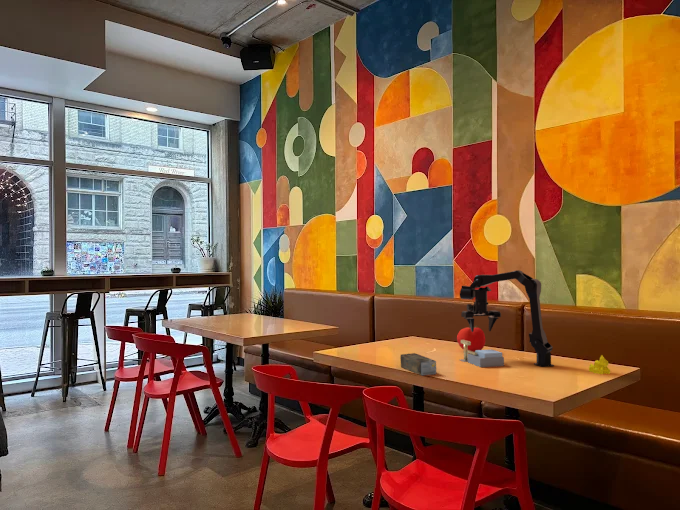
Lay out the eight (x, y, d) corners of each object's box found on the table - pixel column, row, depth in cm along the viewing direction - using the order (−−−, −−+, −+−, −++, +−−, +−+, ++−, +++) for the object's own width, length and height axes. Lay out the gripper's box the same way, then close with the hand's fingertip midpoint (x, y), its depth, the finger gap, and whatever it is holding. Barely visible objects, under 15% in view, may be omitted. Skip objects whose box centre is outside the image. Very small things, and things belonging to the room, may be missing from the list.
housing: (504, 365, 238) (503, 357, 238) (477, 367, 234) (477, 358, 234) (484, 358, 255) (483, 350, 255) (459, 359, 252) (459, 351, 252)
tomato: (490, 351, 274) (490, 326, 274) (475, 355, 265) (474, 328, 265) (466, 348, 286) (465, 323, 286) (450, 351, 277) (450, 325, 277)
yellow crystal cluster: (591, 370, 227) (590, 352, 228) (611, 372, 222) (611, 354, 223) (587, 372, 223) (587, 354, 223) (608, 375, 218) (608, 356, 218)
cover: (502, 357, 238) (502, 352, 238) (484, 357, 236) (484, 353, 236) (492, 353, 247) (492, 349, 247) (475, 354, 245) (475, 350, 245)
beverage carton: (420, 376, 218) (420, 360, 219) (399, 367, 236) (399, 353, 237) (437, 374, 221) (436, 359, 221) (415, 366, 239) (414, 352, 239)
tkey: (477, 363, 242) (477, 343, 242) (473, 363, 241) (473, 343, 241) (464, 358, 254) (464, 339, 254) (460, 358, 254) (460, 339, 254)
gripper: (490, 298, 266) (490, 328, 266) (456, 299, 262) (456, 329, 262) (501, 300, 255) (501, 331, 255) (466, 300, 251) (466, 333, 251)
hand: (481, 331), depth 256 cm, fingers open, 9 cm apart
